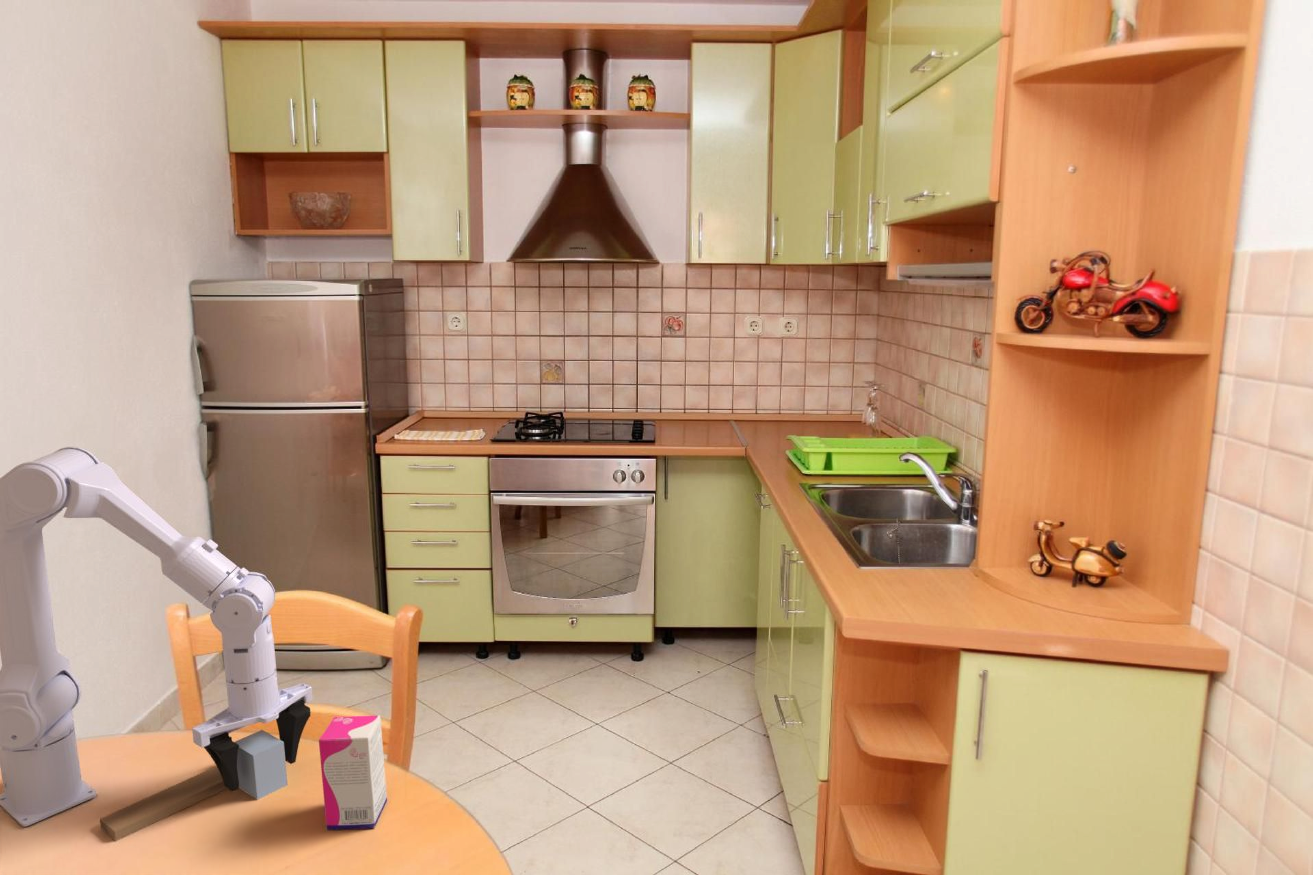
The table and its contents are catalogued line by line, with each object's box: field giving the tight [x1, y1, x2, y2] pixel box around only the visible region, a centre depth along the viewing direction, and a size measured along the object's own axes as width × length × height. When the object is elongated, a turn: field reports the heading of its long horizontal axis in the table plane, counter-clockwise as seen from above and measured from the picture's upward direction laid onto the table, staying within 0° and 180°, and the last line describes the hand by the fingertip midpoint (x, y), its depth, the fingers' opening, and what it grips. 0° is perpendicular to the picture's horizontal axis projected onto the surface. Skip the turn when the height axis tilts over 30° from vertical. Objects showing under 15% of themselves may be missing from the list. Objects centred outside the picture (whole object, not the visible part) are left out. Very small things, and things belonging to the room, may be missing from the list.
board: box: [99, 766, 227, 842], centre depth 112 cm, size 4×22×1 cm, turn 143°
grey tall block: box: [234, 729, 289, 801], centre depth 114 cm, size 10×4×6 cm, turn 53°
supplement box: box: [318, 715, 388, 831], centre depth 106 cm, size 6×6×12 cm
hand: (261, 773), depth 113 cm, fingers open, 7 cm apart
